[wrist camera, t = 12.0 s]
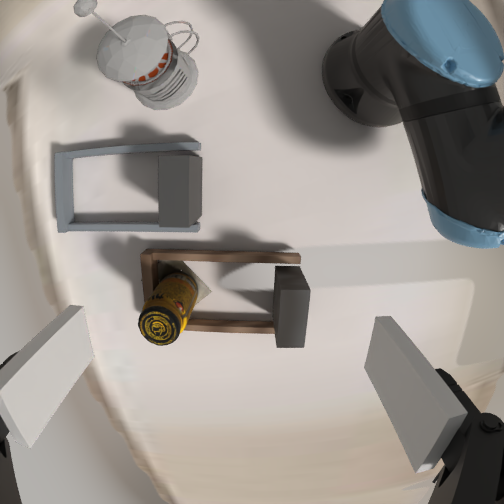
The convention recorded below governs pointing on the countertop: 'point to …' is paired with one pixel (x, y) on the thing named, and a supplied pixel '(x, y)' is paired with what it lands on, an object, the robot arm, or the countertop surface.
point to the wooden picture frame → (284, 303)
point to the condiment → (171, 302)
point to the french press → (145, 58)
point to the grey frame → (169, 190)
